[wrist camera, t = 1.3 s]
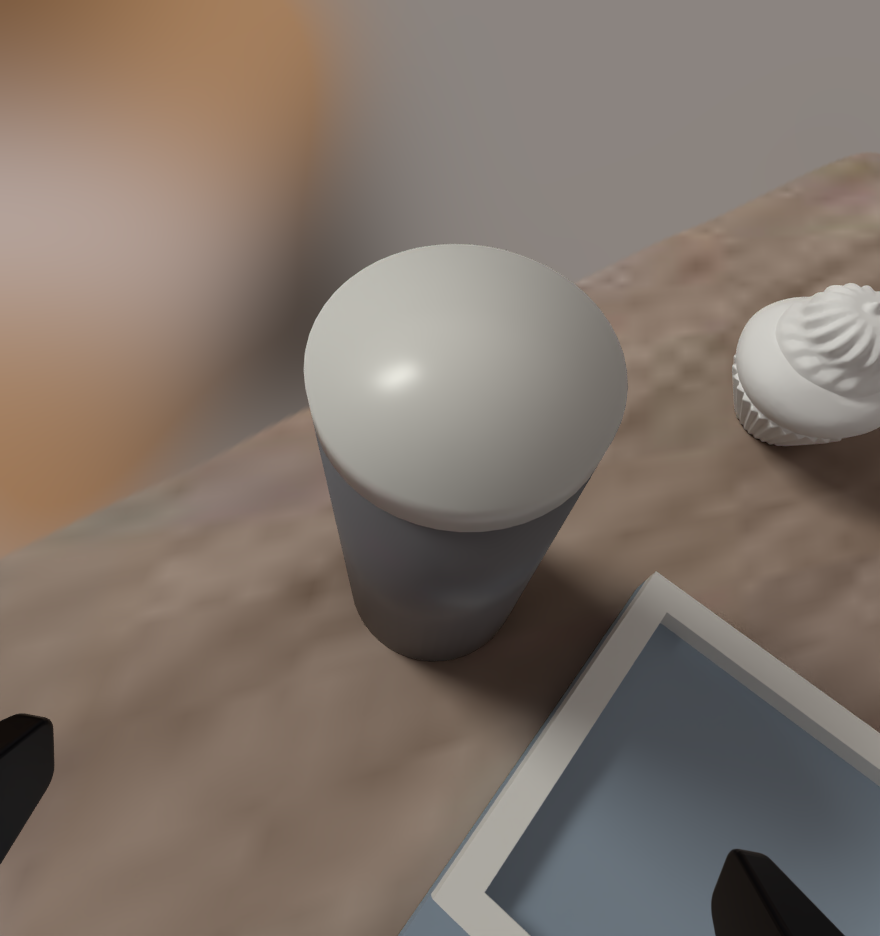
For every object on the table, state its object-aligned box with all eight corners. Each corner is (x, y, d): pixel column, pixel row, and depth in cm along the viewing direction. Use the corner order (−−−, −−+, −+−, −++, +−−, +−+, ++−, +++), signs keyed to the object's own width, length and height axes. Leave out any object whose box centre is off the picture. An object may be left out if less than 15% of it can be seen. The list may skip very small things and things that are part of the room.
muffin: (670, 396, 28) (749, 280, 22) (764, 335, 30) (861, 213, 23) (779, 505, 26) (901, 411, 19) (872, 432, 27) (1011, 325, 21)
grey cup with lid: (446, 698, 22) (500, 582, 10) (316, 586, 23) (233, 373, 12) (547, 568, 24) (685, 350, 12) (423, 473, 25) (444, 201, 14)
